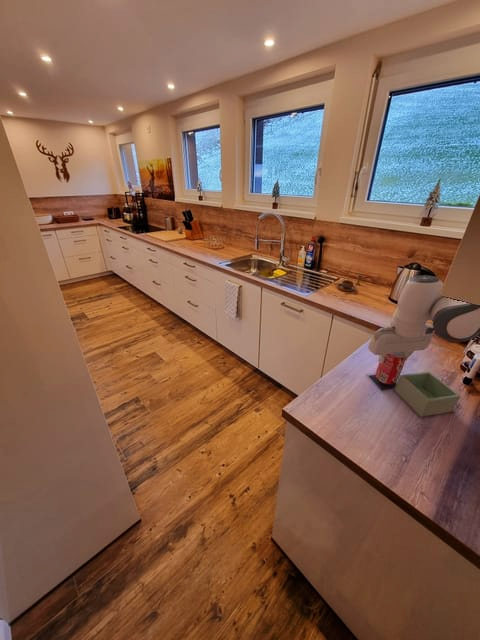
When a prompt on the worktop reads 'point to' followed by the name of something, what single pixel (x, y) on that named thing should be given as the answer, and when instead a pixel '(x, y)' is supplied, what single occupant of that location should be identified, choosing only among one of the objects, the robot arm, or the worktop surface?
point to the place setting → (348, 285)
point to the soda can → (391, 368)
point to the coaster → (382, 385)
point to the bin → (426, 393)
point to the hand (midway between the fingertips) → (392, 361)
